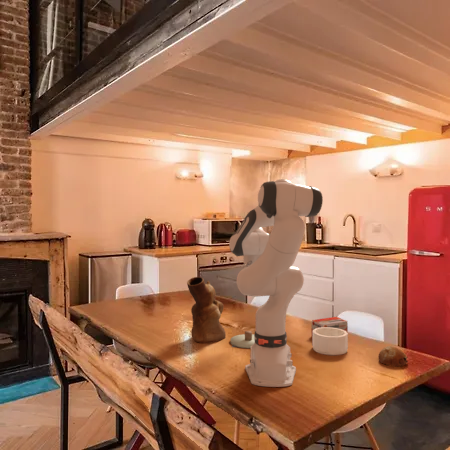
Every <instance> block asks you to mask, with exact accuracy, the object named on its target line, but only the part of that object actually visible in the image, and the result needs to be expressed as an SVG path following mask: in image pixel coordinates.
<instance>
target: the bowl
mask: <svg viewBox="0 0 450 450" xmlns="http://www.w3.org/2000/svg"><path fill="white" fill-rule="evenodd" d="M311 340H312V350H313V351H314V352H316V353H318V354H320V355H325V356H326V355H327V356H342V355H345V354H346V353H348V348H349V333H348V332H346V331H344V330H342V329H338V328H332V327H321V328H316V329H314V330H313V337H312V339H311Z"/></svg>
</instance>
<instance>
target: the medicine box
mask: <svg viewBox="0 0 450 450" xmlns="http://www.w3.org/2000/svg"><path fill="white" fill-rule="evenodd" d="M321 327H332V328H338V329H342V330H344V331H346V332H347V333H348V331H349V330H348V328H349V327H348V320H346V319H344V318H340V317H338V316H334V317H333V316H332V317H325V318H319V319H312V320H311V337H312V338H313V330H314V329H316V328H321Z"/></svg>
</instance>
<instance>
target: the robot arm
mask: <svg viewBox="0 0 450 450" xmlns="http://www.w3.org/2000/svg"><path fill="white" fill-rule="evenodd" d="M257 201H258V202H257V203H258V205H257V206H256V207H255V208H253V209H251V210H250V211H249V212H247V214H246V215H245V216H244V218H243V220H242V221H241V223H240V224H239V226H238V227H237V229H236V231H235V232H233V233H232V235H231V236H230V238H229V247H228V248H229V251H230V252H231V253H232V254H233V255H235V256H236V257H242V258H243V259H242V261H243V264H244V265H245V266H244V267H243V268H242V269H241V270H240V271H239V272H238V274H237V277H236V287H237V289H238V291H239V292H240V293H241V294H242V295H243V296H248V297H268V299H267V301H266V302H265V303H264V304H262V305H260V306H259V307H258V308H257V309H256V312H255V330H254V334H253V335H254V341H255V343H254V344H253V345H252V346H251V348H250V359H249V364H245V366H244V369H245V372H246V374H247V377H248V378H249V381H250V383H251V385H253V386H259V387H270V388H271V387H272V388H276V387H278V388H280V387H281V388H282V387H289V386H292V385H293V382H294V378H295V375H296V372H297V367H296V366H295V365H293V364H294V363H293V360H292V359H291V358H292V355H293V354H292V353H291V346H289V345H288V344H287V341H288V340H287V339H288V334H287V332H286V318H287V312H288V307H289V306H290V303H291V300H292V299H293V298H294V297H295V295H297V293H299V292H300V291H301V289H302V288H303V285H304V281H305V279H304V274H303V272H302V270H301V269H300V268H299V267H297V266H295V265H294V264H295V260H296V259H297V256H298V254H299V250H300V249H301V246H302V242H303V241H304V239H303V238H304V235H305V227H306V226H305V222H304V220H303V218H302V217H305V218H311V217H316V216H317V215H318V214H319V213H320V212H321V210H322V206H323V202H324V201H323V194H322V192H321V190H320V189H319V188H317V187H314V186H310V185H308V186H307V185H303V184H298V183H294V182H292V181H290V180H288V179H285V178H279V179H277V180H273V181H271V180H270V181H266V182H263V183H262V184H261V185H260V187H259V189H258V191H257ZM267 227H272V228H271V232H270V233H268V232H266V231H265V230H264V228H267Z"/></svg>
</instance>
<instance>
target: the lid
mask: <svg viewBox="0 0 450 450" xmlns="http://www.w3.org/2000/svg"><path fill="white" fill-rule="evenodd" d="M254 343H255V341H254V334H253V331H252V330H245V331H244V333H243V334H238V335H234V336H231V338H230V344H231V346H232V345H234V346H236V347H235V348H240V349H241V348H242V349H251V346H252V345H253V344H254Z"/></svg>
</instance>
